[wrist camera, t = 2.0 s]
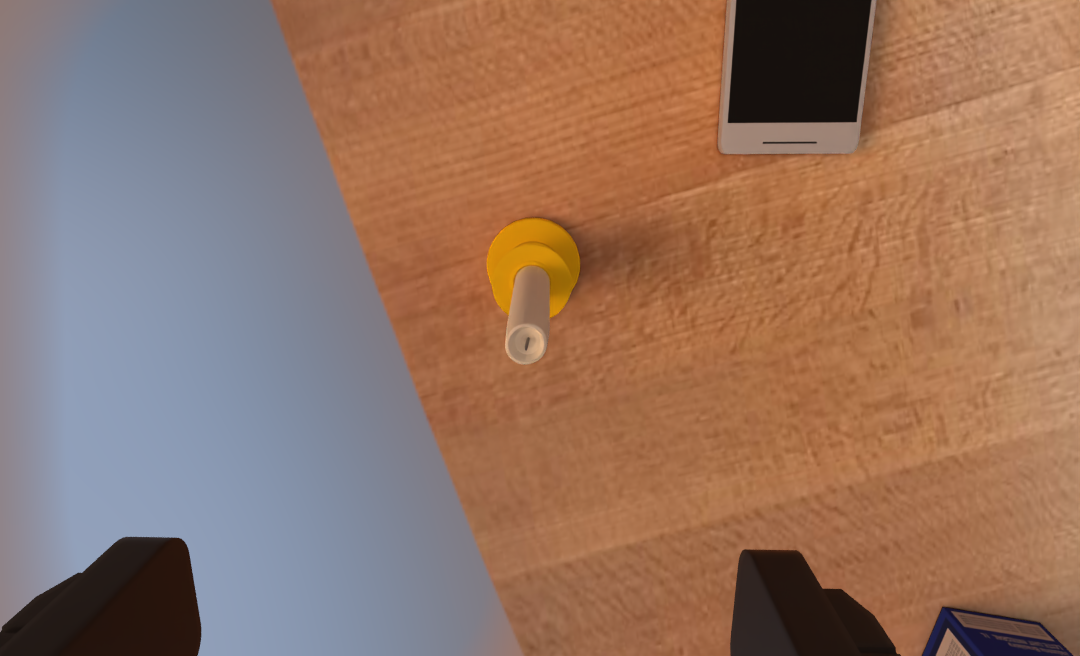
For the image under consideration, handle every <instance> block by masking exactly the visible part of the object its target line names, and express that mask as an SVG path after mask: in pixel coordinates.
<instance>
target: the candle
mask: <svg viewBox="0 0 1080 656" xmlns="http://www.w3.org/2000/svg"><path fill="white" fill-rule="evenodd" d="M487 273H488V276H489V279H490V282H491V285H492V291H493V294H494V297H495V300H496V302H497V303H498V305H499V307H500V308H501V309H502V310H503V311H504V312H505V313H506V314H507V315H508V316H509V317H508V323H507V328H506V341H505V349H506V352H507V354H508V356H509V357H510V358H511V359H512V360H513V361H515V362H517V363H519V364H524V365H525V364H532V363H535V362H536V361H538V360H540V358H541V357H542V356H543V355H544V353H545V351H546V349H547V344H548V338H549V325H550V318H552V317H553V316H555V315H557V314H558V313H559V312H560V311H561V310H562V309H563V308H564V306H565V304H566V303H567V301H568V299H569V296H570V293H571V292H572V290H573V288H574V286H575V285H576V283H577V280H578V276H579V273H580V256H579V253H578V249H577V246H576V244H575V242H574V241H573V239H572V237H571V236H570V234H569V233H568V232H567V231H566V230H565V229H563V228H562V227H561V226H560V225H558V224H556V223H554V222H552V221H551V220H547V219H542V218H524V219H520V220H517V221H514V222H512V223H511V224H509V225H508V226H506V227H504V228H503V229H502V230H501V231H500V232H499V233H498V235H497V236H496V237H495V239H494V241H493V242H492V244H491V246H490V248H489V252H488V257H487Z"/></svg>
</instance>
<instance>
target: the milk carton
mask: <svg viewBox="0 0 1080 656" xmlns="http://www.w3.org/2000/svg"><path fill="white" fill-rule="evenodd" d="M922 656H1073V655H1072V654H1071V653H1070V652H1069V651H1068V650H1067V649H1066V648H1065V647H1064V646H1063V645H1062V644H1061V643H1060V642H1059V641H1058V640H1057V639H1056V638H1055V637H1054V636H1053V635H1052V634H1051V633H1050V632H1049V631H1048V630H1047V629H1046V628H1045V627H1044V626H1043V625H1042V624H1041V623H1037V622H1031V621H1025V620H1019V619H1013V618H1007V617H1001V616H994V615H988V614H982V613H976V612H970V611H964V610H958V609H952V608H945V607H943V608H942V610H941V612H940V615H939V617H938V619H937V622H936V624H935V627H934V629H933V631H932V634H931V636H930V638H929V641H928V643H927V645H926V648H925V650H924V652H923V655H922Z"/></svg>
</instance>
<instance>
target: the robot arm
mask: <svg viewBox="0 0 1080 656" xmlns="http://www.w3.org/2000/svg"><path fill="white" fill-rule="evenodd" d="M200 642H201V622H200V617H199V610H198V604H197V598H196V592H195V586H194V580H193V573H192V567H191V561H190V556H189V550H188V547H187V545H186V544H185V542H184V541H183V540H182V539H180V538H162V537H158V538H157V537H125V538H122V539H120V540H118V541H117V542H115V543H114V544H113V545H112V546H111V547H110V548H109V549H108V550H107V551H105V552H104V553H103V554H102V555H101V556H100V557H99V558H98V559H97V560H96V561H95V562H93V563H92V564H91V565H90V566H89V567H88V568H87V569H86V570H85V571H84V572H83V573H77V574H75V575H73V576H72V577H70V578H68V579H67V580H65V581H63V582H61V583H60V584H58V585H56V586H55V587H53V588H51V589H49V590H47V591H46V592H44V593H43V594H40V595H39V596H37V597H35V598H34V599H33V600H32V601H31V602H30V603H29V604H27V605H26V606H25V607H24V608H23V609H22V610H21V611H19V612H18V613H17V614H16V615H15V616H14V617H13V618H12V619H10V620H9V621H8V622H7V623H6V624H5V625H4V626H3V627H2V631H1V632H0V656H197V655H198V651H199V647H200ZM730 651H731V656H901V655H900V654H897V653H896V650H895V646H894V645H893V643H892V642H891V640H890V639H889V637H888V636H887V634H886V633H885V631H884V630H883V628H882V627H881V625H880V624H879V622H878V621H877V619H876V618H875V616H874V615H873V614H871V613H870V612H869V611H868V610H866V609H865V608H864V607H863V606H862V605H860V604H859V603H858V602H857V601H855V600H854V599H853V598H852V597H850V596H849V595H848V594H847V593H845V592H844V591H843V590H842V589H822V587H821V586H820V584H819V582H818V581H817V579H816V577H815V576H814V574H813V572H812V571H811V569H810V567H809V565H808V564H807V562H806V560H805V559H804V557H803V556H802V554H801V553H800V552H799V551H797V550H743V551H742V552H741V555H740V558H739V563H738V572H737V582H736V592H735V601H734V611H733V621H732V630H731V642H730Z"/></svg>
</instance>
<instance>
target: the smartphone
mask: <svg viewBox="0 0 1080 656" xmlns="http://www.w3.org/2000/svg"><path fill="white" fill-rule="evenodd" d="M876 1H877V0H727V7H726V22H725V37H724V52H723V67H722V82H721V96H720V111H719V126H718V149H719V151H720V153H722V154H837V153H853V152H854V151H855V150H856V148H857V146H858V142H859V136H860V128H861V120H862V112H863V104H864V96H865V88H866V80H867V72H868V64H869V56H870V48H871V41H872V33H873V25H874V17H875V9H876Z"/></svg>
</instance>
